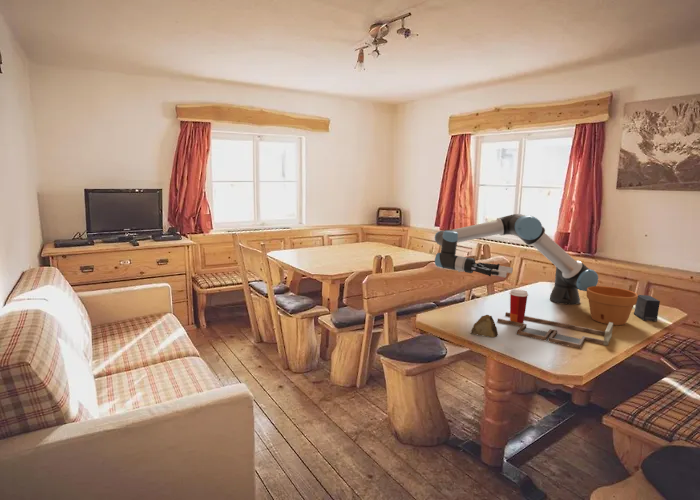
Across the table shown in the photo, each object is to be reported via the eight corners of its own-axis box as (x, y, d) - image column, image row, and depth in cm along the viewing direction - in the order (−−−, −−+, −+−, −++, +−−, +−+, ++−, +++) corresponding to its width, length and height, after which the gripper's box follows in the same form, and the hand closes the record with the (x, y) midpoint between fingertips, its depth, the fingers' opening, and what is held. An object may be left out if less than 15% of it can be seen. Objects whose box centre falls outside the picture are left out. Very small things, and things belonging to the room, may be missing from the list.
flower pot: (591, 310, 220) (594, 283, 217) (638, 320, 205) (642, 291, 203) (577, 320, 205) (580, 290, 203) (627, 331, 191) (631, 299, 188)
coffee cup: (525, 319, 205) (527, 289, 202) (526, 325, 197) (529, 294, 195) (507, 317, 208) (509, 288, 205) (507, 323, 200) (509, 292, 197)
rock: (464, 329, 184) (484, 333, 177) (470, 311, 187) (490, 314, 179) (477, 339, 190) (497, 343, 182) (483, 322, 193) (502, 325, 185)
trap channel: (489, 328, 193) (490, 315, 192) (506, 314, 212) (507, 303, 211) (604, 353, 166) (606, 339, 165) (611, 335, 185) (613, 322, 184)
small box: (658, 321, 204) (661, 301, 202) (643, 320, 205) (645, 300, 204) (647, 315, 214) (650, 295, 213) (633, 314, 216) (636, 294, 214)
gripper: (471, 268, 223) (513, 276, 212) (456, 275, 202) (502, 284, 191) (473, 254, 222) (515, 261, 211) (458, 260, 201) (504, 268, 190)
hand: (509, 272), depth 201 cm, fingers open, 13 cm apart
